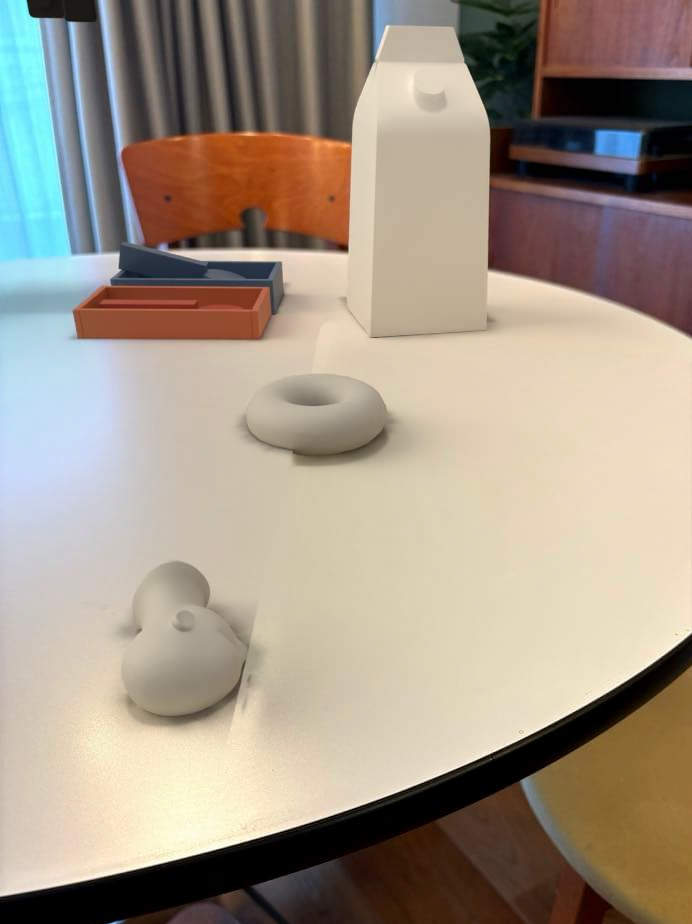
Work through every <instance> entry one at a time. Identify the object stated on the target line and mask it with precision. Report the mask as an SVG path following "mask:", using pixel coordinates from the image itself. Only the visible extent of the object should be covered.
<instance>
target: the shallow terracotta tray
mask: <svg viewBox="0 0 692 924" xmlns="http://www.w3.org/2000/svg"><path fill="white" fill-rule="evenodd" d="M99 307H100V309H239V310H244V309H243V308H242V307H239V306H235V305H226V304H219V305H208V306H203V307H200V308H198V301H197V300H103V301H102V302H100V303H99Z"/></svg>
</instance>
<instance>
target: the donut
mask: <svg viewBox="0 0 692 924" xmlns="http://www.w3.org/2000/svg"><path fill="white" fill-rule="evenodd" d="M387 414H388V409H387V405H386V403H385V400H384V399H383V397H382V395H381V394H380V392H379V391H378V390H377V389H376V388H375V387H373V386H372V385H371V384H368V383H367V382H365V381H362V380H360V379H358V378H357V379H356V378H355V377H354V378H353V377H350V376H347V375H341V374H334V373H303V374H295V375H290V376H286V377H281V378H279V379H275V380H273V381H270V382H267V383H266V384H264V385H262V386H261V387H259V388H257V390H256V391H255V392H254V393H253V394H252V396H251V397H250V399H249V400H248V402H247V404H246V407H245V417H246V422H247V427H248V430H249V431H250V433H251V434H253V435H254V436H255V438H257V439H258V440H259V441H260V442H261V441H262V442H264V443H266V444H269V445H271V446H274V447H278V448H283V449H289V450H292V455H298V456H314V457H315V456H328V455H329V456H331V455H336V454H341V453H346V452H349V451H354V450H356V449H358V448H361V447H363V446H365V445H368V444H369V443H370V442H371V441H373V439H375V438H376V437H377V436H378V435H380V433H382V430H383V428H384V426H385V423H386V419H387Z"/></svg>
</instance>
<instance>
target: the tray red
mask: <svg viewBox="0 0 692 924" xmlns="http://www.w3.org/2000/svg"><path fill="white" fill-rule="evenodd" d="M103 300H197V301H198V308H200V307H203V306H208V305H219V304H226V305H235V306H239V307H242V308H243V309H244V310H239V309H100V307H99V303H100V302H102V301H103ZM72 315H73V320H74V325H75V326H74V327H75V331H76V336H77V339H97V340H98V339H102V340H103V339H105V340H107V339H109V340H110V339H114V340H115V339H116V340H118V339H119V340H120V339H121V340H129V339H130V340H261V338H262V336H263V334H264V331H265V328H266V326H267V324H268V322H269V320H270V317H271V316H272V314H271V302H270V288H269V287H203V286H111V285H101V286H100V287H99V288H97V289H96V290H95V291H94V292H92V293H91V294H90V295H89V296H88V297H86V298H85V299H84V300H83V301H82V302H80V303H79V304H77V306H75V307H74V308H73V309H72Z"/></svg>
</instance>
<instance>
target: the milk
mask: <svg viewBox="0 0 692 924" xmlns="http://www.w3.org/2000/svg"><path fill="white" fill-rule="evenodd" d="M460 45H461V44H460V43H459V40H458V37H457V33H456V30H455V27H454V26H438V25H437V26H435V25H428V26H427V25H399V24H398V25H397V24H396V25H395V24H389V25H388V24H387V25H385V28H384V31H383V34H382V37H381V39H380V42H379V46H378V49H377V52H376V54H375V58H374V60H375V61H374V62H373V63H372V66H371V68H370V69H369V73H368V75H367V78H366V81H365V83H364V86H363V88H362V91H361V93H360V95H359V98H358V100H357V103H356V106H355V109H354V113H353V119H352V128H351V131H352V132H351V136H352V137H351V157H350V158H351V160H350V161H351V163H350V192H349V193H350V194H349V221H348V222H349V224H348V253H347V283H346V284H347V285H346V286H347V288H346V308H347V310H348V311H349V312H350V314H351V315H352V316H353V317H354V319H355V320H356V321H357V322H358V324H359V325H360V326H361V328H362V329H363V330H364V331H365V333H366V334H367V335H368V336H369V338H382V337H383V338H384V337H399V336H413V335H415V336H416V335H429V334H431V335H432V334H444V333H445V334H446V333H448V334H449V333H461V332H476V331H477V332H478V331H487V327H488V324H487V323H488V278H489V277H488V276H489V275H488V274H489V271H488V270H489V216H490V171H491V170H490V169H491V168H490V167H491V166H490V165H491V164H490V162H491V161H490V159H491V128H490V121H489V117H488V113H487V111H486V108H485V106H484V103H483V101H482V99H481V96H480V93H479V91H478V89H477V86H476V84H475V82H474V79H473V77H472V75H471V73H470V70H469V68H468V65H467V64H466V63H465V57H464V54H463V51H462V49H461V46H460Z"/></svg>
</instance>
